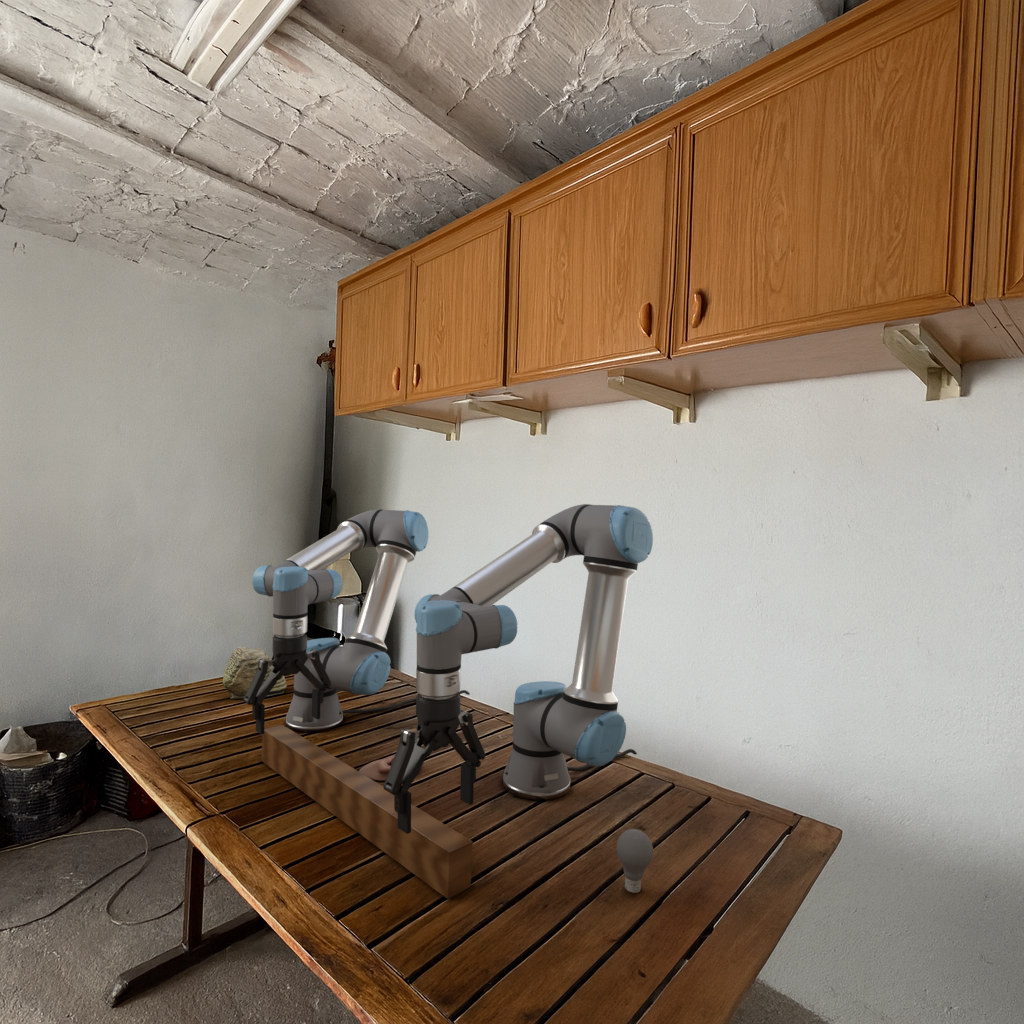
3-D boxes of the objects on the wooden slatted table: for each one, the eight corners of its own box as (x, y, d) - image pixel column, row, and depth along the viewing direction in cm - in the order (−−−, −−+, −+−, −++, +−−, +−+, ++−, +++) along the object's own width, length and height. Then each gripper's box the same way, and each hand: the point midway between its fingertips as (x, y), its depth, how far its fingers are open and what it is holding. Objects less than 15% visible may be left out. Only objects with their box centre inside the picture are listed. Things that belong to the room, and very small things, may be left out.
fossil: (218, 695, 195) (220, 647, 195) (278, 685, 208) (279, 640, 207) (228, 703, 189) (230, 653, 188) (289, 692, 201) (290, 645, 201)
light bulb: (610, 879, 108) (613, 822, 108) (644, 879, 109) (647, 822, 109) (619, 902, 102) (622, 840, 102) (655, 901, 103) (658, 840, 103)
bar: (261, 761, 150) (262, 729, 150) (281, 755, 154) (282, 724, 153) (447, 899, 101) (449, 852, 101) (470, 886, 105) (472, 841, 105)
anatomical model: (353, 759, 143) (374, 741, 154) (352, 777, 143) (373, 757, 154) (408, 767, 140) (426, 748, 152) (408, 785, 140) (425, 764, 152)
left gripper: (242, 646, 134) (241, 744, 136) (346, 629, 152) (345, 716, 153) (228, 639, 140) (227, 733, 141) (330, 623, 157) (329, 707, 159)
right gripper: (389, 717, 96) (388, 853, 97) (506, 682, 114) (504, 798, 115) (362, 704, 101) (361, 833, 102) (477, 673, 119) (476, 784, 120)
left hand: (288, 724), depth 147 cm, fingers open, 13 cm apart
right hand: (436, 815), depth 109 cm, fingers open, 13 cm apart
